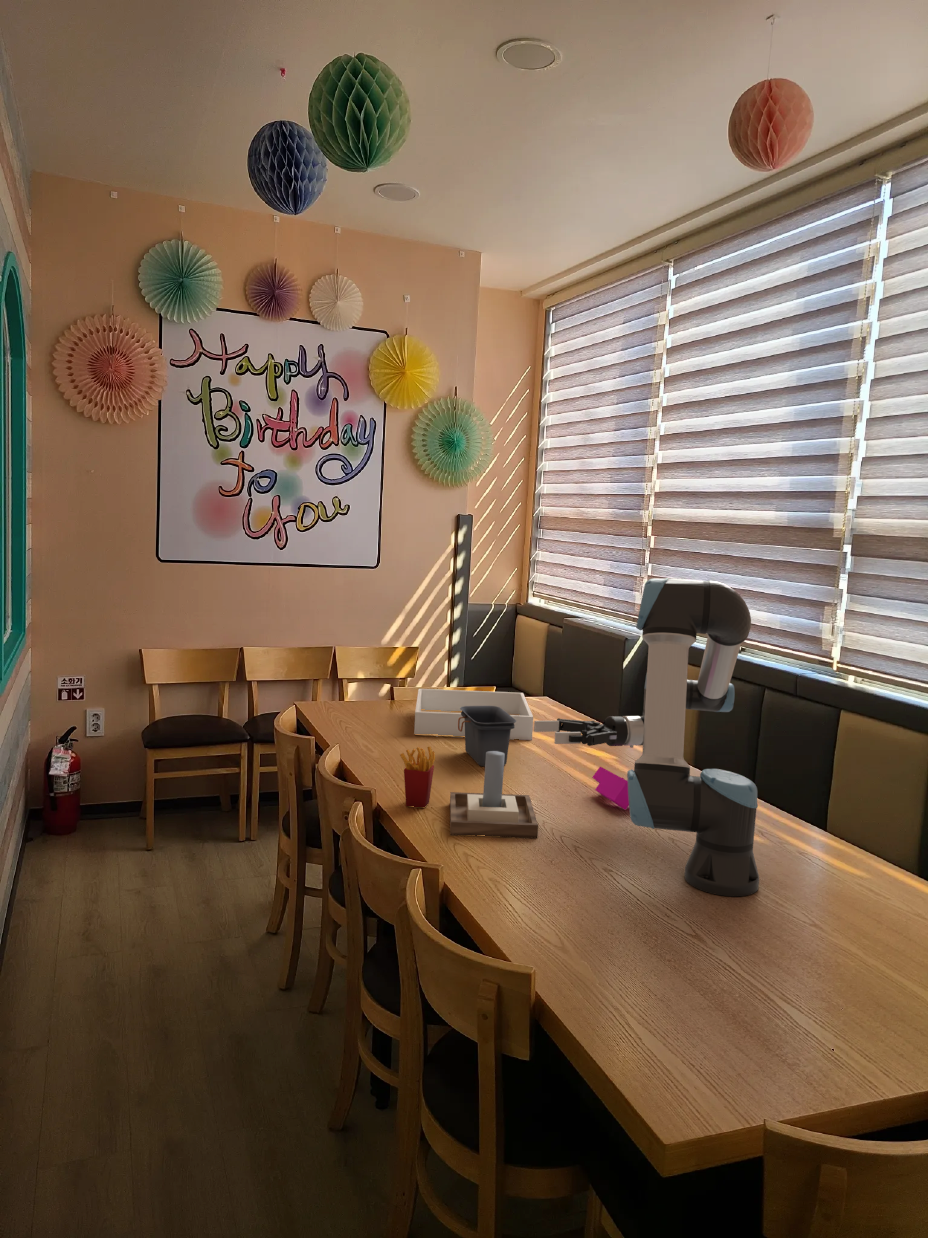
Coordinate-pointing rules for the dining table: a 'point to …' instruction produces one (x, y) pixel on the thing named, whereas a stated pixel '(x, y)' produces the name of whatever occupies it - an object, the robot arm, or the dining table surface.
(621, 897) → the dining table surface
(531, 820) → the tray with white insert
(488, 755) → the peg
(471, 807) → the bore block
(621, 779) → the toy block
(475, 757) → the storage bin
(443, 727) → the white shallow tray
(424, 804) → the french fries
